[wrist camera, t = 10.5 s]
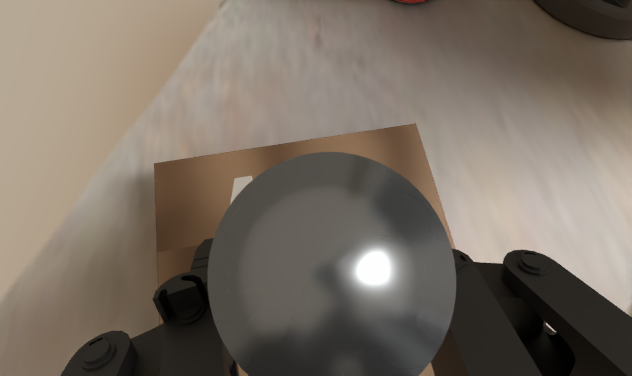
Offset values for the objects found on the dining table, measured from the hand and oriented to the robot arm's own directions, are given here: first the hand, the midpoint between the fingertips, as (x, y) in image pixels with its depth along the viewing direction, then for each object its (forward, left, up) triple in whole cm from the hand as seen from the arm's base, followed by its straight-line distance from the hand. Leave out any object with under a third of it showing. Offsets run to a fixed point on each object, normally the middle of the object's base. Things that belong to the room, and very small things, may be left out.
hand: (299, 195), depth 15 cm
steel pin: (0, +4, -3) cm, 5 cm away
